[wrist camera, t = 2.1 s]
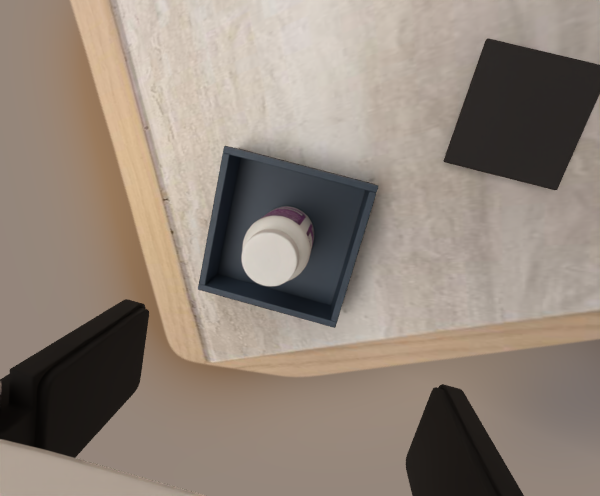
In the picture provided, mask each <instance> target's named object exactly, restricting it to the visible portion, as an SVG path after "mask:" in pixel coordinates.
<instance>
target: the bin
mask: <svg viewBox="0 0 600 496" xmlns="http://www.w3.org/2000/svg"><path fill="white" fill-rule="evenodd" d="M377 190H378V185H375V184H372V183H369V182H365V181H361V180H357V179H353V178H349V177H345V176H342V175H338V174H334V173H330V172H326V171H322V170H319V169H315V168H311V167H307V166H303V165H299V164H295V163H292V162H288V161H284V160H280V159H276V158H272V157H269V156H265V155H261V154H257V153H253V152H249V151H245V150H242V149H238V148H233V147H228V146H224V150H223V156H222V161H221V166H220V172H219V177H218V183H217V188H216V194H215V199H214V204H213V210H212V215H211V221H210V226H209V232H208V237H207V243H206V248H205V253H204V259H203V264H202V270H201V275H200V281H199V286H198V290H202V291H205V292H209V293H213V294H216V295H220V296H223V297H227V298H230V299H234V300H238V301H241V302H245V303H248V304H252V305H255V306H259V307H262V308H266V309H270V310H273V311H277V312H280V313H284V314H287V315H291V316H295V317H298V318H302V319H305V320H309V321H312V322H316V323H320V324H323V325H327V326H330V327H334V328H335V327H336V323H337V320H338V317H339V313H340V310H341V307H342V304H343V300H344V297H345V294H346V291H347V287H348V284H349V281H350V278H351V274H352V271H353V268H354V265H355V261H356V258H357V255H358V251H359V248H360V245H361V242H362V238H363V235H364V232H365V229H366V225H367V222H368V219H369V216H370V212H371V209H372V206H373V203H374V199H375V196H376V192H377ZM279 207H294V208H297V209H299V210H301V211H302V212H304V213H305V214H306V215H307V216H308V217H309V219H310V220H311V222H312V225H313V228H314V242H313V245H312V249H311V253H310V257H309V261H308V263H307V265H306V267H305V268H304V270H303V271H302V272H301V273H300V274H299V275H298V276H297V277H295V278H293V279H292V280H289V281H287V282H285V283H283V284H281V285H278V286H263V285H260V284H258V283H256V282H254V281H253V280H252V279H251V278H250V277H249V276H248V275H247V274H246V272H245V270H244V268H243V265H242V258H241V257H242V251H243V240H244V237H245V235H246V233H247V231H248V229H249V228H250V227H251V225H252V224H253V223H255V222H256V221H258V220H259V219H260V218H262V217H263V216H265V215H266V214H267V213H269V212H270V211H272V210H274V209H276V208H279Z"/></svg>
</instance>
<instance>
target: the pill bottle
mask: <svg viewBox="0 0 600 496" xmlns="http://www.w3.org/2000/svg"><path fill="white" fill-rule="evenodd" d="M313 242H314V228H313V225H312V222H311V220H310V219H309V217H308V216H307V215H306V214H305V213H304V212H302V211H301V210H299V209H297V208H294V207H279V208H276V209H274V210H272V211H270V212H269V213H267V214H266V215H265V216H263V217H262V218H260V219H259V220H258V221H256V222H255V223H253V224H252V225H251V227H250V228H249V229H248V231H247V233H246V235H245V237H244V240H243V251H242V257H241V258H242V265H243V268H244V270H245V272H246V274H247V275H248V276H249V277H250V278H251V279H252V280H253V281H254V282H256V283H258V284H260V285H263V286H278V285H281V284H283V283H285V282H287V281H289V280H292V279H293V278H295V277H297V276H298V275H299V274H300V273H301V272H302V271H303V270H304V268H305V267H306V265H307V263H308V261H309V257H310V253H311V249H312V245H313Z"/></svg>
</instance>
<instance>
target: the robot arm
mask: <svg viewBox="0 0 600 496" xmlns="http://www.w3.org/2000/svg"><path fill="white" fill-rule="evenodd" d="M148 318H149V311H148V310H147V309H145V305H144V304H142V303H138V302H135V301H131V300H124V301H122V302H120V303H118V304H117V305H115V306H113V307H112V308H110V309H108V310H107V311H105V312H103V313H102V314H100V315H99V316H97V317H95V318H94V319H92V320H90V321H89V322H87V323H86V324H84V325H82V326H80V327H79V328H77V329H76V330H74V331H72V332H71V333H69V334H67V335H66V336H64V337H62V338H61V339H59V340H57V341H56V342H54V343H52V344H51V345H49V346H47V347H46V348H44V349H43V350H41V351H39V352H38V353H36V354H34V355H33V356H31V357H29V358H28V359H26V360H24V361H23V362H21V363H20V364H18V365H16V366H15V367H13V368H11V369H10V374H9V375H7V376H5V377H4V378H2V379H0V496H205V495H202V494H199V493H195V492H192V491H188V490H185V489H181V488H178V487H175V486H171V485H168V484H164V483H160V482H157V481H153V480H150V479H147V478H143V477H139V476H136V475H132V474H129V473H126V472H122V471H119V470H115V469H112V468H108V467H105V466H101V465H98V464H94V463H91V462H87V461H84V460H80V459H76V458H75V457H76V456H77V455H78V454H79V453H80V452H81V451H82V449H83V448H84V447H85V446H86V445H87V444H88V443H89V442H90V441H91V439H92V438H93V437H94V436H95V435H96V434H97V433H98V432H99V431H100V430H101V429H102V427H103V426H104V425H105V424H106V423H107V422H108V421H109V420H110V419H111V417H113V415H114V414H115V413H116V412H117V411H118V410H119V409H120V408H121V407H122V406H123V404H124V403H125V402H126V401H127V400H128V399H129V398H130V397H131V396H132V395H133V393H134V392H135V391H136V389H137V387H138V385H139V383H140V377H141V370H142V363H143V355H144V348H145V340H146V333H147V326H148ZM406 470H407V474H408V479H409V483H410V487H411V491H412V495H413V496H524V495H523V493H522V492H521V490H520V488H519V487H518V485H517V483H516V481H515V480H514V478H513V476H512V475H511V473H510V471H509V469H508V468H507V466H506V465H505V463H504V461H503V459H502V457H501V456H500V454H499V452H498V451H497V449H496V447H495V445H494V444H493V442H492V440H491V439H490V437H489V435H488V434H487V432H486V430H485V428H484V427H483V425H482V423H481V421H480V420H479V418H478V416H477V415H476V413H475V411H474V409H473V408H472V406H471V404H470V403H469V401H468V399H467V397H466V396H465V394H464V392H463V391H462V390H461V389H458V388H454V387H451V386H447V385H443V384H442V385H440V386H439V388H433V390H432V392H431V394H430V397H429V400H428V402H427V405H426V407H425V410H424V413H423V415H422V418H421V420H420V423H419V426H418V428H417V431H416V433H415V436H414V438H413V441H412V444H411V446H410V449H409V452H408V454H407V457H406Z"/></svg>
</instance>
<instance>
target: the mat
mask: <svg viewBox="0 0 600 496" xmlns="http://www.w3.org/2000/svg"><path fill="white" fill-rule="evenodd" d="M599 94H600V65H598V64H593V63H589V62H585V61H581V60H577V59H572V58H568V57H564V56H560V55H555V54H551V53H547V52H543V51H539V50H534V49H530V48H526V47H522V46H517V45H513V44H509V43H505V42H501V41H496V40H492V39H487V40H486V41H485V44H484V47H483V50H482V53H481V55H480V58H479V61H478V64H477V67H476V70H475V73H474V75H473V78H472V81H471V84H470V87H469V90H468V93H467V95H466V98H465V101H464V104H463V107H462V110H461V113H460V116H459V118H458V121H457V124H456V127H455V130H454V133H453V136H452V138H451V141H450V144H449V147H448V150H447V153H446V156H445V158H444V162H447V163H451V164H455V165H459V166H462V167H466V168H470V169H474V170H478V171H482V172H486V173H490V174H494V175H498V176H502V177H506V178H510V179H513V180H517V181H521V182H525V183H529V184H533V185H537V186H541V187H545V188H549V189H553V190H557V189H558V186H559V184H560V182H561V179H562V177H563V175H564V173H565V170H566V168H567V166H568V164H569V161H570V159H571V157H572V155H573V152H574V150H575V148H576V146H577V143H578V141H579V139H580V137H581V134H582V132H583V130H584V128H585V125H586V123H587V121H588V119H589V116H590V114H591V112H592V110H593V107H594V105H595V103H596V101H597V98H598V96H599Z"/></svg>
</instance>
